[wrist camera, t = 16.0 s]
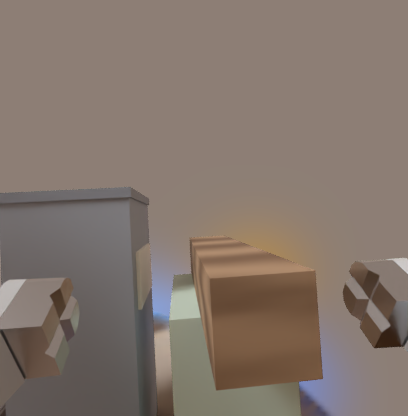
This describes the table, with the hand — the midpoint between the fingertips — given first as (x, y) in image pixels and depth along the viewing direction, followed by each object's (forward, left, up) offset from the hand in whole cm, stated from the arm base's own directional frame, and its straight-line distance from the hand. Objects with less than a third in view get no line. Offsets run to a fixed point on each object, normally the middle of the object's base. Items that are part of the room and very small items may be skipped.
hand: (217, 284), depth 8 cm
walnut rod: (-10, +8, -4) cm, 14 cm away
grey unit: (-24, +2, -21) cm, 32 cm away
